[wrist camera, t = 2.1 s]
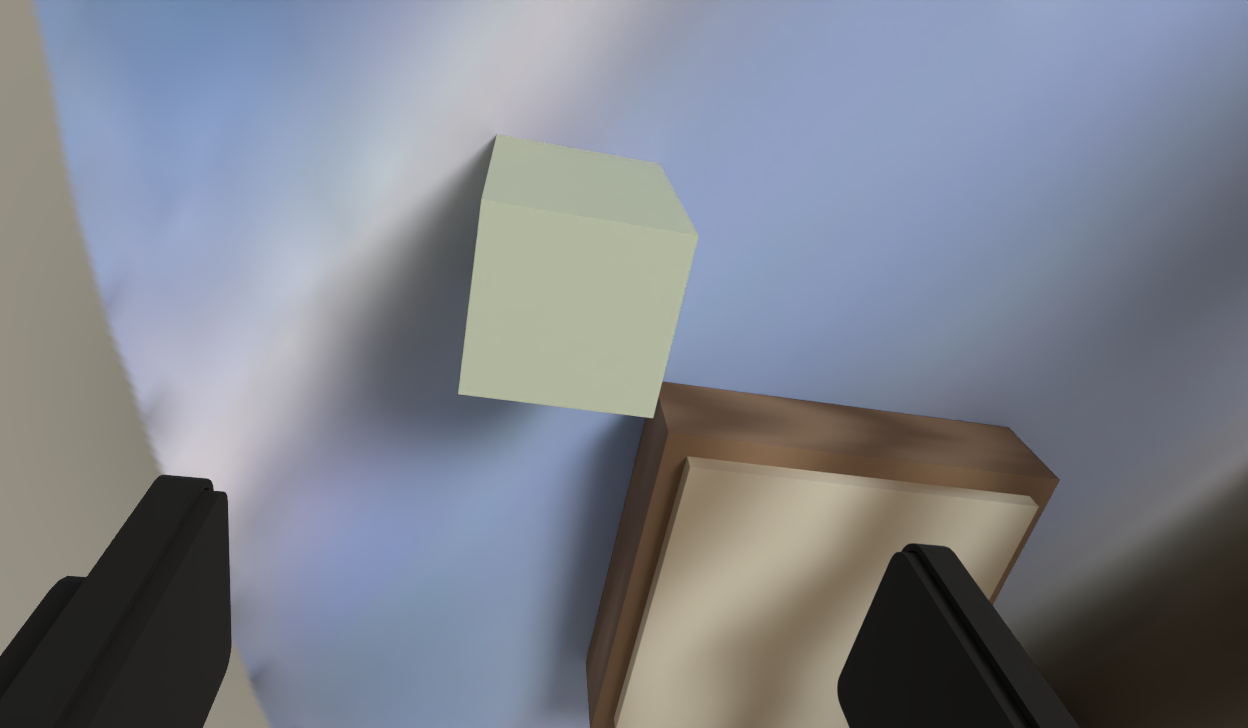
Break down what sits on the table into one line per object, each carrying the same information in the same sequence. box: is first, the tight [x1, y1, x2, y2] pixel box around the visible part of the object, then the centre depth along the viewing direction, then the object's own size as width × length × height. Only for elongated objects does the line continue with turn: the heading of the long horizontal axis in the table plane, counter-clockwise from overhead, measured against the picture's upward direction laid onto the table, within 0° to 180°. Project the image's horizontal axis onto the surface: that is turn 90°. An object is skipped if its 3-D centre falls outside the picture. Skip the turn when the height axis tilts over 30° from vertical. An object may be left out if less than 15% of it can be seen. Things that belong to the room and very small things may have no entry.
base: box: [586, 382, 1059, 728], centre depth 31 cm, size 14×14×4 cm
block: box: [458, 134, 699, 418], centre depth 22 cm, size 5×5×7 cm
